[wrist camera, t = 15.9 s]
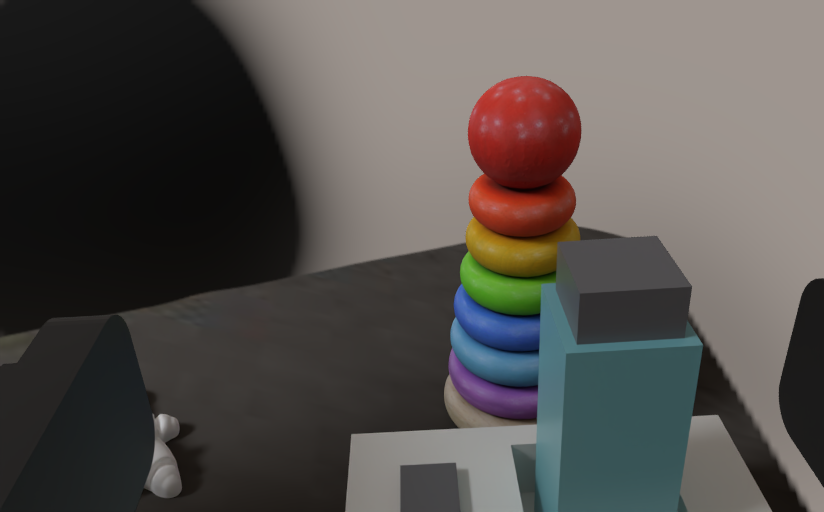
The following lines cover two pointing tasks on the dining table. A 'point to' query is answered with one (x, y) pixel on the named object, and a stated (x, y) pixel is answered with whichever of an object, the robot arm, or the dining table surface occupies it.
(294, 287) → the dining table surface
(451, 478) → the recessed white block
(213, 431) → the dining table surface
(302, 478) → the dining table surface
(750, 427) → the dining table surface
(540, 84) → the stacking toy
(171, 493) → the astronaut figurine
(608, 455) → the teal square bottle
